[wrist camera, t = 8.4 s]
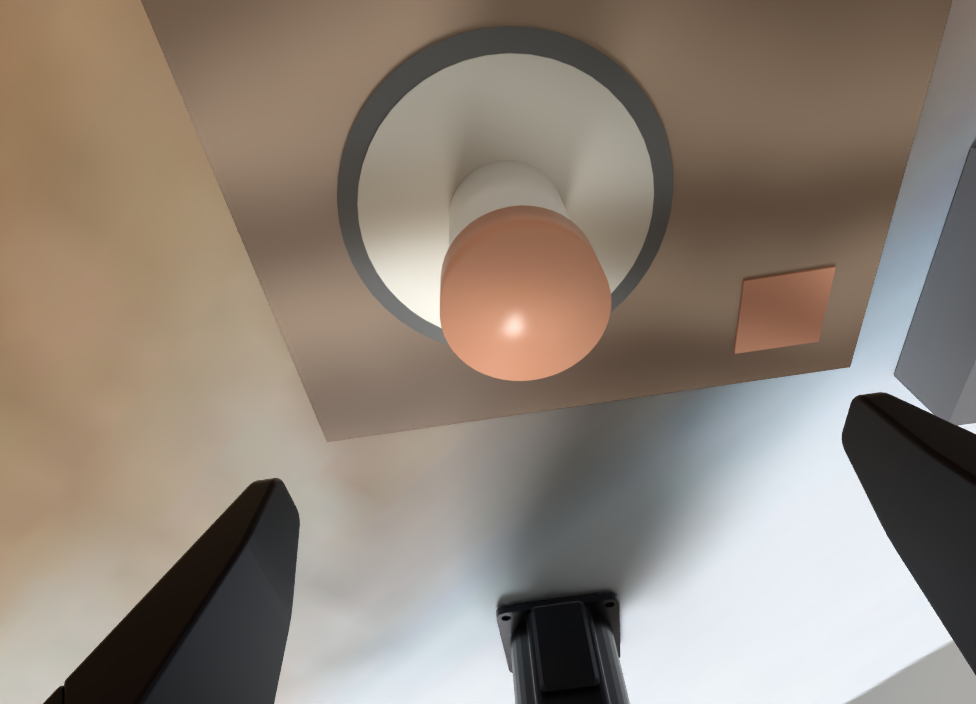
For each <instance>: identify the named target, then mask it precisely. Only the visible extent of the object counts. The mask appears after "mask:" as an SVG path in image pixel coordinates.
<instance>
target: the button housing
mask: <svg viewBox="0 0 976 704" xmlns="http://www.w3.org/2000/svg"><path fill="white" fill-rule="evenodd" d="M894 376H895V377H896V378H897V379H898V380H899V381H900V382H901V383H902V384H903V385H904V386H905V387H906V388H907V389H908V390H909V391H910V392H911V393H912V394H913V395H914V396H915V397H916V398H917V399H918V400H919V401H921V402H922V403H923V404H924V405H925V406H926V407H927V408H928V409H929V410H930V411H931V412H932V413H933V414H934V415H935V416H937V417H940V418H942V419H944V420H946V421H948V422H950V423H952V424H955V425H964V424H971V423H976V147H974V148H971V149H970V152H969V155H968V158H967V161H966V164H965V167H964V170H963V173H962V176H961V179H960V181H959V184H958V187H957V190H956V193H955V196H954V199H953V202H952V205H951V208H950V211H949V214H948V217H947V220H946V223H945V226H944V229H943V232H942V235H941V238H940V241H939V244H938V246H937V249H936V252H935V255H934V258H933V261H932V264H931V267H930V270H929V273H928V276H927V279H926V282H925V285H924V288H923V291H922V294H921V297H920V300H919V303H918V306H917V309H916V311H915V314H914V317H913V320H912V323H911V326H910V329H909V332H908V335H907V338H906V341H905V344H904V347H903V350H902V353H901V356H900V359H899V362H898V365H897V368H896V371H895V373H894Z"/></svg>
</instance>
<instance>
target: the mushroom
mask: <svg viewBox="0 0 976 704" xmlns="http://www.w3.org/2000/svg"><path fill="white" fill-rule="evenodd" d="M610 312H611V291H610V287H609V283H608V280H607V278H606V275H605V273H604V271H603V269H602V267H601V264H600V262H599V260H598V258H597V256H596V254H595V252H594V250H593V248H592V246H591V244H590V242H589V240H588V239H587V237H586V235H585V234H584V233H583V232H582V230H581V229H580V228H579V227H578V226H577V225H576V224H574V223H573V222H572V221H571V220H570V218H569V216H568V213H567V211H566V209H565V207H564V205H563V202H562V200H561V198H560V196H559V193H558V191H557V189H556V187H555V186H554V184H553V182H552V181H551V180H550V179H549V178H548V177H547V176H546V175H545V174H544V173H543V172H542V171H540V170H539V169H537V168H535V167H533V166H531V165H529V164H526V163H523V162H518V161H507V160H506V161H497V162H493V163H489V164H487V165H484V166H482V167H480V168H478V169H476V170H475V171H473V172H472V173H470V174H469V175H468V176H467V177H466V178H465V179H464V180H463V181H462V182H461V184H460V185H459V186H458V188H457V190H456V191H455V193H454V195H453V198H452V201H451V204H450V209H449V248H448V251H447V253H446V255H445V257H444V261H443V264H442V269H441V278H440V322H441V327H442V331H443V334H444V336H445V338H446V340H447V343H448V344H449V346H450V347H451V349H452V350H453V352H454V353H455V354H456V355H457V356H458V357H459V358H460V359H461V360H462V361H463V362H464V363H466V364H467V365H468V366H470V367H471V368H473V369H475V370H476V371H478V372H480V373H483V374H485V375H488V376H491V377H493V378H498V379H502V380H510V381H529V380H537V379H542V378H546V377H549V376H552V375H555V374H557V373H560V372H562V371H564V370H566V369H568V368H570V367H571V366H573V365H575V364H576V363H577V362H579V361H580V360H582V359H583V358H584V357H585V356H586V355H587V354H588V353H589V352H590V351H591V350H592V349H593V348H594V347H595V345H596V344H597V343H598V341H599V340H600V338H601V337H602V335H603V333H604V331H605V329H606V326H607V323H608V321H609V317H610Z"/></svg>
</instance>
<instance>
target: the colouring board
mask: <svg viewBox="0 0 976 704" xmlns="http://www.w3.org/2000/svg"><path fill="white" fill-rule="evenodd" d="M141 1H142V4H143V6H144V9H145V11H146V13H147V16H148V18H149V20H150V23H151V25H152V28H153V30H154V32H155V35H156V37H157V39H158V42H159V44H160V47H161V49H162V51H163V54H164V56H165V58H166V61H167V63H168V66H169V68H170V70H171V73H172V75H173V77H174V80H175V82H176V85H177V87H178V89H179V92H180V94H181V96H182V99H183V101H184V104H185V106H186V108H187V111H188V113H189V115H190V118H191V120H192V123H193V125H194V127H195V130H196V132H197V134H198V137H199V139H200V142H201V144H202V146H203V149H204V151H205V153H206V156H207V158H208V161H209V163H210V165H211V168H212V170H213V172H214V175H215V177H216V180H217V182H218V184H219V187H220V189H221V191H222V194H223V196H224V198H225V201H226V203H227V206H228V208H229V210H230V213H231V215H232V217H233V220H234V222H235V225H236V227H237V229H238V232H239V234H240V236H241V239H242V241H243V244H244V246H245V248H246V251H247V253H248V255H249V258H250V260H251V263H252V265H253V267H254V270H255V272H256V274H257V277H258V279H259V282H260V284H261V286H262V289H263V291H264V293H265V296H266V298H267V301H268V303H269V305H270V308H271V310H272V312H273V315H274V317H275V320H276V322H277V324H278V327H279V329H280V331H281V334H282V336H283V339H284V341H285V343H286V346H287V348H288V350H289V353H290V355H291V358H292V360H293V362H294V365H295V367H296V369H297V372H298V374H299V377H300V379H301V381H302V384H303V386H304V388H305V391H306V393H307V396H308V398H309V400H310V403H311V405H312V407H313V410H314V412H315V414H316V417H317V419H318V422H319V424H320V426H321V429H322V431H323V433H324V436H325V438H326V441H327V442H331V441H338V440H345V439H352V438H359V437H366V436H373V435H380V434H387V433H394V432H401V431H408V430H415V429H422V428H429V427H436V426H443V425H450V424H457V423H464V422H471V421H478V420H485V419H491V418H498V417H505V416H512V415H519V414H526V413H533V412H540V411H547V410H554V409H561V408H568V407H575V406H582V405H589V404H596V403H603V402H610V401H617V400H624V399H631V398H638V397H645V396H652V395H659V394H666V393H673V392H679V391H686V390H693V389H700V388H707V387H714V386H721V385H728V384H735V383H742V382H749V381H756V380H763V379H770V378H777V377H784V376H791V375H798V374H805V373H812V372H819V371H826V370H833V369H840V368H847V367H850V365H851V362H852V358H853V355H854V351H855V347H856V344H857V340H858V337H859V333H860V330H861V326H862V322H863V319H864V315H865V312H866V308H867V305H868V301H869V297H870V294H871V290H872V287H873V283H874V280H875V276H876V272H877V269H878V265H879V262H880V258H881V254H882V251H883V247H884V244H885V240H886V237H887V233H888V229H889V226H890V222H891V219H892V215H893V212H894V208H895V204H896V201H897V197H898V194H899V190H900V186H901V183H902V179H903V176H904V172H905V169H906V165H907V161H908V158H909V154H910V151H911V147H912V144H913V140H914V136H915V133H916V129H917V126H918V122H919V119H920V115H921V111H922V108H923V104H924V101H925V97H926V93H927V90H928V86H929V83H930V79H931V76H932V72H933V68H934V65H935V61H936V58H937V54H938V51H939V47H940V43H941V40H942V36H943V33H944V29H945V25H946V22H947V18H948V15H949V11H950V8H951V4H952V0H141ZM506 160H507V161H518V162H523V163H526V164H529V165H531V166H533V167H535V168H537V169H539V170H540V171H542V172H543V173H544V174H545V175H546V176H547V177H548V178H549V179H550V180H551V181H552V182H553V184H554V186H555V187H556V189H557V191H558V193H559V196H560V198H561V200H562V202H563V205H564V207H565V209H566V211H567V213H568V216H569V218H570V220H571V221H572V222H573V223H574V224H576V225H577V226H578V227H579V228H580V229H581V230H582V232H583V233H584V234H585V235H586V237H587V239H588V240H589V242H590V244H591V246H592V248H593V250H594V252H595V254H596V256H597V258H598V260H599V262H600V264H601V267H602V269H603V271H604V273H605V275H606V278H607V280H608V283H609V287H610V291H611V312H610V317H609V321H608V323H607V326H606V329H605V331H604V333H603V335H602V337H601V338H600V340H599V341H598V343H597V344H596V345H595V347H594V348H593V349H592V350H591V351H590V352H589V353H588V354H587V355H586V356H585V357H584V358H583V359H582V360H580V361H579V362H577V363H576V364H575V365H573V366H571V367H570V368H568V369H566V370H564V371H562V372H560V373H557V374H555V375H552V376H549V377H546V378H542V379H537V380H529V381H510V380H502V379H498V378H493V377H491V376H488V375H485V374H483V373H480V372H478V371H476V370H475V369H473V368H471V367H470V366H468V365H467V364H466V363H464V362H463V361H462V360H461V359H460V358H459V357H458V356H457V355H456V354H455V353H454V352H453V350H452V349H451V347H450V346H449V344H448V343H447V340H446V338H445V336H444V334H443V331H442V327H441V322H440V278H441V269H442V264H443V261H444V257H445V255H446V253H447V251H448V248H449V209H450V204H451V201H452V198H453V195H454V193H455V191H456V190H457V188H458V186H459V185H460V184H461V182H462V181H463V180H464V179H465V178H466V177H467V176H468V175H469V174H470V173H472V172H473V171H475V170H476V169H478V168H480V167H482V166H484V165H487V164H489V163H493V162H497V161H506Z"/></svg>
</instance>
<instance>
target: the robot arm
mask: <svg viewBox="0 0 976 704" xmlns="http://www.w3.org/2000/svg"><path fill="white" fill-rule="evenodd" d="M842 444H843V447H844V450H845V452H846V454H847V456H848V458H849V460H850V462H851V464H852V466H853V468H854V470H855V472H856V474H857V476H858V478H859V480H860V482H861V484H862V486H863V488H864V490H865V492H866V494H867V496H868V498H869V501H870V503H871V505H872V507H873V509H874V511H875V513H876V515H877V517H878V519H879V521H880V523H881V525H882V526H883V528H884V530H885V532H886V534H887V536H888V538H889V539H890V541H891V542H892V544H893V546H894V547H895V549H896V551H897V552H898V554H899V555H900V557H901V559H902V560H903V562H904V563H905V565H906V566H907V568H908V570H909V571H910V573H911V574H912V576H913V577H914V579H915V581H916V582H917V584H918V585H919V587H920V588H921V590H922V592H923V593H924V595H925V596H926V598H927V599H928V601H929V603H930V604H931V606H932V607H933V609H934V610H935V612H936V614H937V615H938V617H939V618H940V620H941V621H942V623H943V625H944V626H945V628H946V629H947V631H948V632H949V634H950V636H951V637H952V639H953V640H954V642H955V643H956V645H957V646H958V648H959V650H960V651H961V653H962V654H963V656H964V658H965V659H966V661H967V662H968V664H969V665H970V667H971V669H972V670H973V672H974V673H975V675H976V434H974V433H972V432H970V431H968V430H965V429H963V428H961V427H959V426H957V425H955V424H952V423H950V422H948V421H946V420H944V419H942V418H940V417H937V416H935V415H933V414H931V413H929V412H927V411H924V410H922V409H920V408H918V407H916V406H914V405H912V404H909V403H907V402H905V401H903V400H901V399H899V398H897V397H894V396H892V395H890V394H887V393H882V392H879V393H872V394H864V395H859V396H856V397H855V398H854V399H853V400H852V402H851V405H850V408H849V411H848V415H847V418H846V422H845V425H844V428H843V432H842ZM299 527H300V519H299V513H298V510H297V508H296V506H295V504H294V502H293V500H292V498H291V496H290V494H289V492H288V490H287V488H286V486H285V484H284V483H283V481H282V480H280V479H279V478H272V479H265V480H258V481H255V482H253V483H251V484H250V485H249V486H248V487H247V488H246V489H245V490H244V491H243V492H242V494H241V495H240V496H239V497H238V498H237V499H236V500H235V501H234V502H233V503H232V504H231V505H230V506H229V507H228V508H227V509H226V511H225V512H224V513H223V514H222V515H221V516H220V517H219V518H218V519H217V520H216V521H215V522H214V523H213V524H212V525H211V526H210V527H209V529H208V530H207V531H206V532H205V533H204V534H203V535H202V536H201V537H200V538H199V539H198V540H197V541H196V542H195V543H194V544H193V545H192V547H191V548H190V549H189V550H188V551H187V552H186V553H185V554H184V555H183V556H182V557H181V558H180V559H179V560H178V561H177V562H176V564H175V565H174V566H173V567H172V568H171V569H170V570H169V571H168V572H167V573H166V574H165V575H164V576H163V577H162V578H161V579H160V580H159V582H158V583H157V584H156V585H155V586H154V587H153V588H152V589H151V590H150V591H149V592H148V593H147V594H146V595H145V596H144V597H143V598H142V600H141V601H140V602H139V603H138V604H137V605H136V606H135V607H134V608H133V609H132V610H131V611H130V612H129V613H128V614H127V615H126V617H125V618H124V619H123V620H122V621H121V622H120V623H119V624H118V625H117V626H116V627H115V628H114V629H113V630H112V631H111V632H110V633H109V635H108V636H107V637H106V638H105V639H104V640H103V641H102V642H101V643H100V644H99V645H98V646H97V647H96V648H95V649H94V650H93V652H92V653H91V654H90V655H89V656H88V657H87V658H86V659H85V660H84V661H83V662H82V663H81V664H80V665H79V666H78V667H77V668H76V670H75V671H74V672H73V673H72V674H71V675H70V676H69V677H68V678H67V679H66V680H65V683H64V686H60V687H58V688H57V689H56V690H55V692H54V693H53V694H52V695H51V696H50V697H49V698H48V699H47V700H46V701H45V702H44V703H43V704H274V701H275V696H276V691H277V686H278V681H279V676H280V671H281V666H282V661H283V656H284V651H285V646H286V641H287V636H288V631H289V626H290V620H291V614H292V605H293V595H294V584H295V573H296V561H297V550H298V539H299ZM496 615H497V622H498V627H499V631H500V635H501V639H502V643H503V647H504V651H505V655H506V659H507V663H508V667H509V671H510V672H512V673H513V681H514V692H515V704H630V703H629V699H628V694H627V690H626V686H625V682H624V678H623V673H622V669H621V665H620V661H619V658H620V618H619V601H618V597H617V594H615V593H612V592H607V593H600V594H592V595H584V596H577V597H569V598H562V599H554V600H546V601H539V602H531V603H524V604H516V605H508V606H502V607H500V608H498V609H497V610H496Z"/></svg>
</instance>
